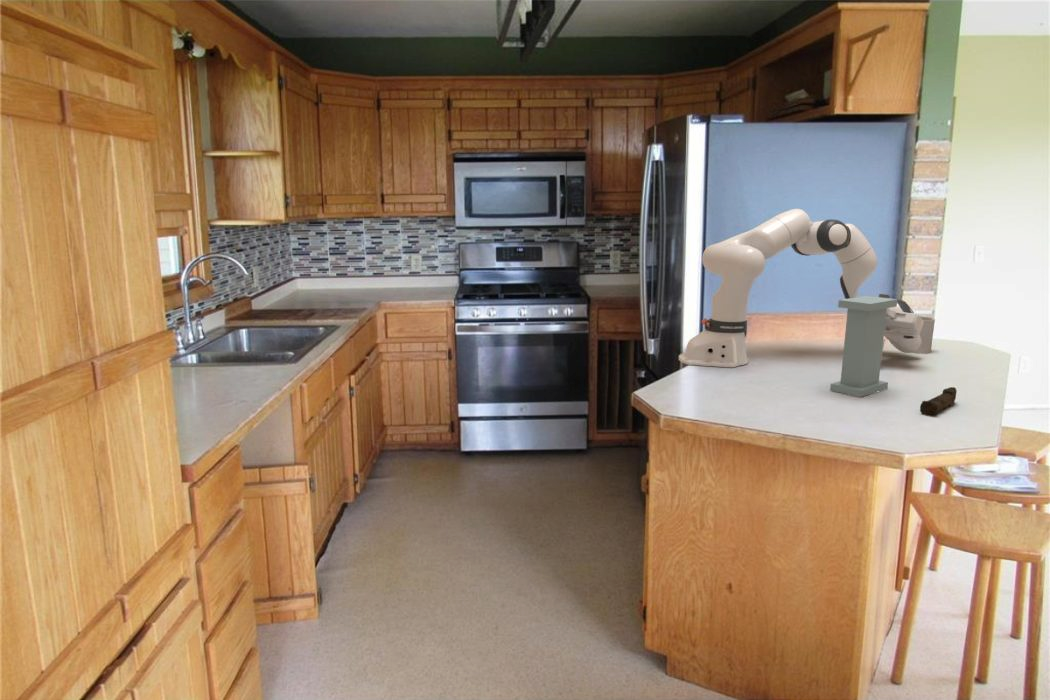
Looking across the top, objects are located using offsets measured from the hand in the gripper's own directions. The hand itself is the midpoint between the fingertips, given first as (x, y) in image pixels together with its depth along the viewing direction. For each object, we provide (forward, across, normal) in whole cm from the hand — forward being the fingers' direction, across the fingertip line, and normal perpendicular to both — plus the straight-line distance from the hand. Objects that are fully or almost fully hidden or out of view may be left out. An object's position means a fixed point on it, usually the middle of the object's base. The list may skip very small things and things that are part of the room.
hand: (878, 308), depth 232 cm
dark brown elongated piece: (+17, +34, +33) cm, 50 cm away
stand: (+17, +12, +32) cm, 38 cm away
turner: (-5, 0, +6) cm, 8 cm away
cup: (-43, -3, -2) cm, 43 cm away
